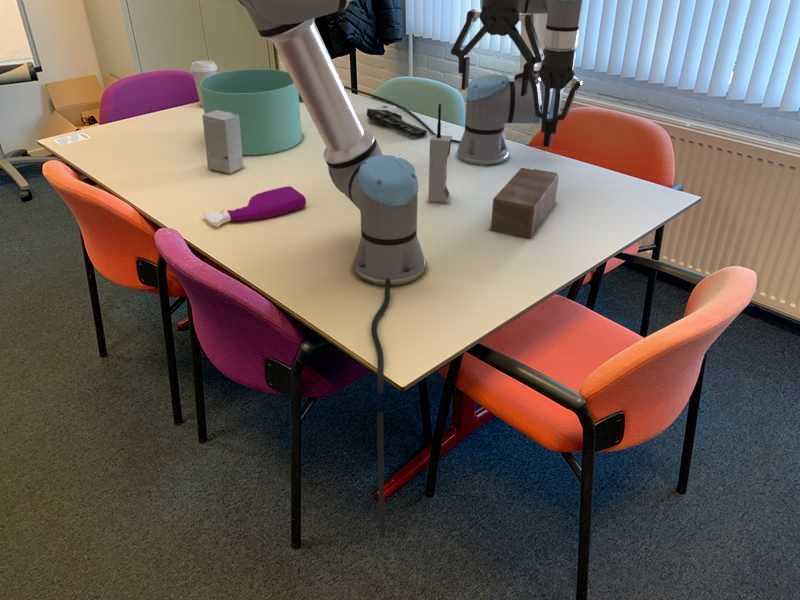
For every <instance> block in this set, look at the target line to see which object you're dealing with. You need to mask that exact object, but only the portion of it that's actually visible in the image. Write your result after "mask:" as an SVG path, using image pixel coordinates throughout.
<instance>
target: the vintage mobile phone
mask: <svg viewBox="0 0 800 600" xmlns="http://www.w3.org/2000/svg"><path fill="white" fill-rule="evenodd" d="M437 111H438V112H437V127H436V129H437V130H436V134H437V135H431V138H430V140H429V161H428V162H429V163H428V164H429V165H428V197H427V198H428V201H427V202H431V203H441V204H448V201H449V198H450V192H449V189H448V188H447V174H448V173H447V172H448V160H449V156H450V155H451V154H450V153H451V146H452V142H451V140H452V139H453V136H452V135H443V134H442V133H441V132H442V122H441V118H442V104H441V103H439V104H438V110H437Z"/></svg>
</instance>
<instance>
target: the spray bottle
mask: <svg viewBox="0 0 800 600" xmlns="http://www.w3.org/2000/svg"><path fill="white" fill-rule="evenodd" d="M306 204H307V199H306V197H305V195H304V194H302V193H301V192H299V191H298V190H297V189H295V188H294V187H293V186H290V185H288V186H282V187H278V188H274V189H269V190H265V191H262V192H259V193H256V194H255V195H252V196H251V197H250V198H249V201H248V203H247V205H245V206H242V207H241V208H235V209H228V210H227V211H225V212H224V209H221V210H218V211H216V212H208V213H207V212H206V211H204V212H202V216H203V217H204V219H205V220H206V221H207V222H208V223H209V224H210V225H212V226H215V227H218V228H220V226H221V225H222V224H225V223H227V222H230V221H231V222H234V221H246V220H254V219H255V220H262V219H268V218H272V217H276V216H279V215H280V216H281V215H284V214H287V213H290V212H293V211H297V210H300V209H302V208H304V207H305V206H306Z"/></svg>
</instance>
